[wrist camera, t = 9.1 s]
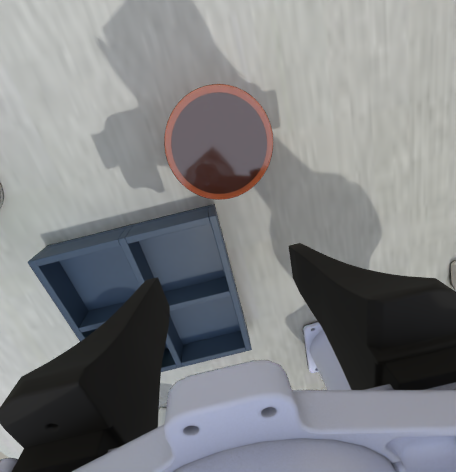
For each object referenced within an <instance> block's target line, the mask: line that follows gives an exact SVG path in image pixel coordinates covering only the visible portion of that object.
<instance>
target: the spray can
mask: <svg viewBox="0 0 456 472" xmlns="http://www.w3.org/2000/svg"><path fill="white" fill-rule="evenodd" d="M2 203H3V191H2V187H1V184H0V208H1V206H2Z"/></svg>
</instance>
